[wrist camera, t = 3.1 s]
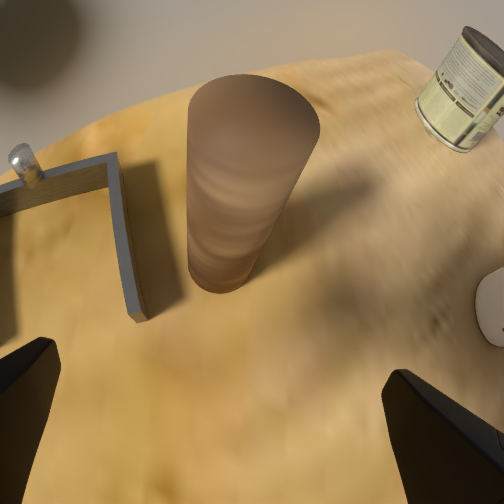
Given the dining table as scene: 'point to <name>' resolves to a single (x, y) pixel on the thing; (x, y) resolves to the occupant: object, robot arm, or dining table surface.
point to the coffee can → (464, 92)
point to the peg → (241, 172)
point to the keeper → (72, 183)
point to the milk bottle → (491, 307)
